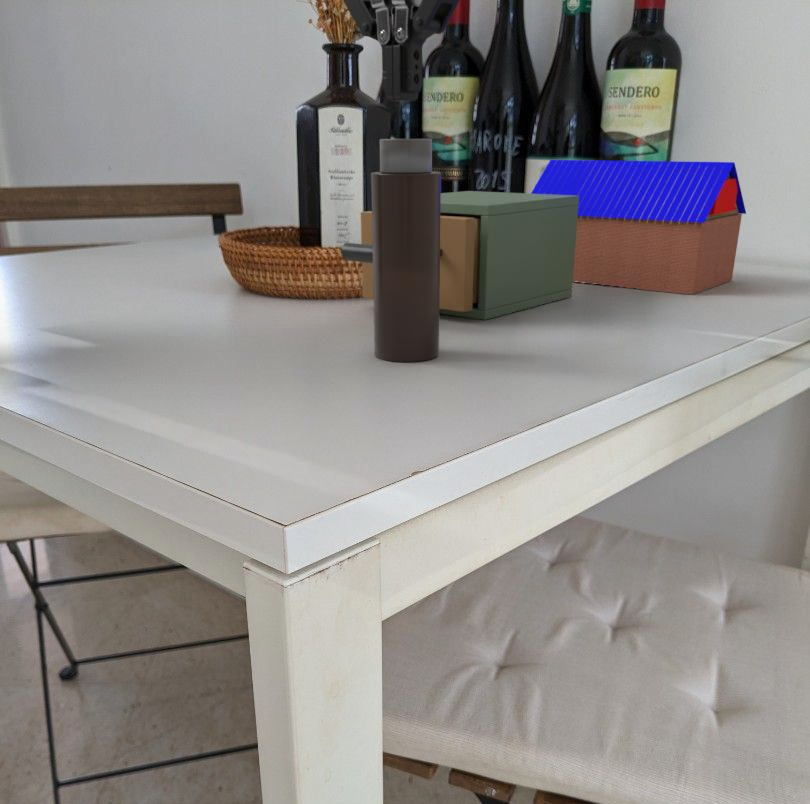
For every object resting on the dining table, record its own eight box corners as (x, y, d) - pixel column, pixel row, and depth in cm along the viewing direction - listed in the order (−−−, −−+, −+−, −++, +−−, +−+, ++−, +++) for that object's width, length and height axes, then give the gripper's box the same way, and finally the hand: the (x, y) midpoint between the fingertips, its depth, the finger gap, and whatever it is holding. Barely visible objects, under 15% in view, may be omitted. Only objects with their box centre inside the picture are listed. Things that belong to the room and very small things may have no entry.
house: (568, 264, 103) (576, 158, 98) (735, 279, 92) (754, 160, 86) (516, 277, 94) (522, 161, 89) (694, 295, 83) (712, 164, 78)
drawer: (427, 321, 67) (428, 223, 64) (324, 305, 74) (320, 215, 71) (549, 291, 80) (554, 207, 77) (451, 279, 87) (453, 202, 84)
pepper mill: (361, 355, 61) (355, 139, 55) (402, 344, 64) (401, 138, 58) (411, 365, 58) (410, 139, 52) (451, 353, 62) (455, 138, 56)
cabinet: (485, 320, 72) (489, 205, 68) (373, 303, 80) (371, 199, 76) (571, 296, 83) (579, 195, 79) (465, 284, 90) (468, 190, 86)
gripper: (295, -173, 60) (308, 102, 68) (443, -219, 53) (440, 97, 60) (366, -149, 66) (371, 104, 73) (510, -188, 58) (500, 99, 65)
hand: (402, 100), depth 67 cm, fingers closed
